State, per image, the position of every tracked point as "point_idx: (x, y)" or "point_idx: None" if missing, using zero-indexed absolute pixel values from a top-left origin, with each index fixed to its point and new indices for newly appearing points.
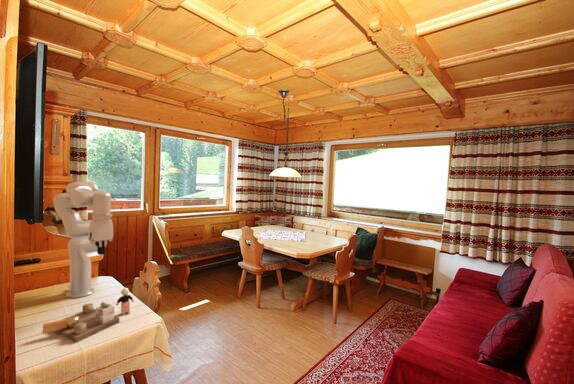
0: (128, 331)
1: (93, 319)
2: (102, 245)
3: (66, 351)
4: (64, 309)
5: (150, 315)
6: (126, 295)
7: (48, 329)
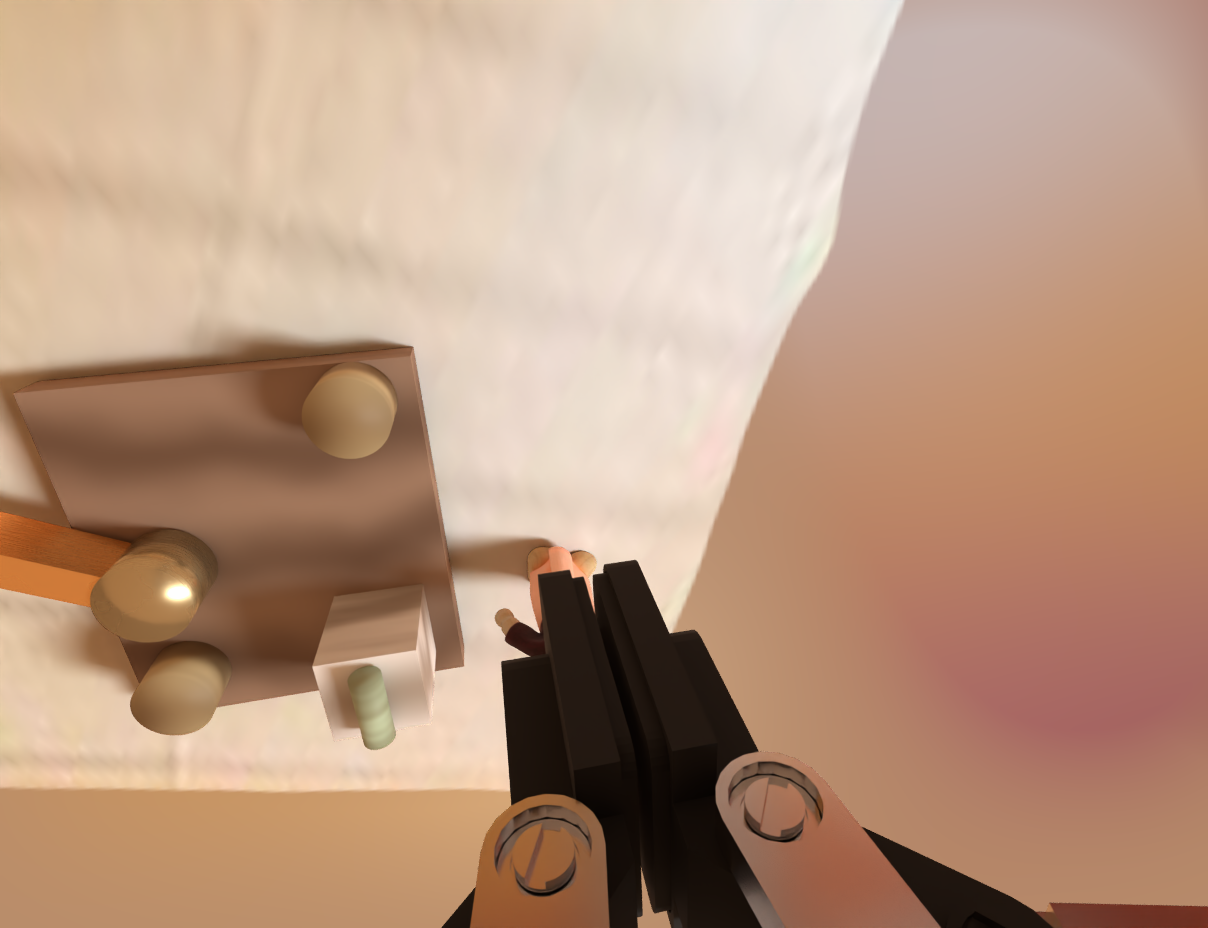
0: (439, 765)
1: (331, 565)
2: (682, 913)
3: (93, 739)
4: (255, 53)
5: None
6: None
7: None
